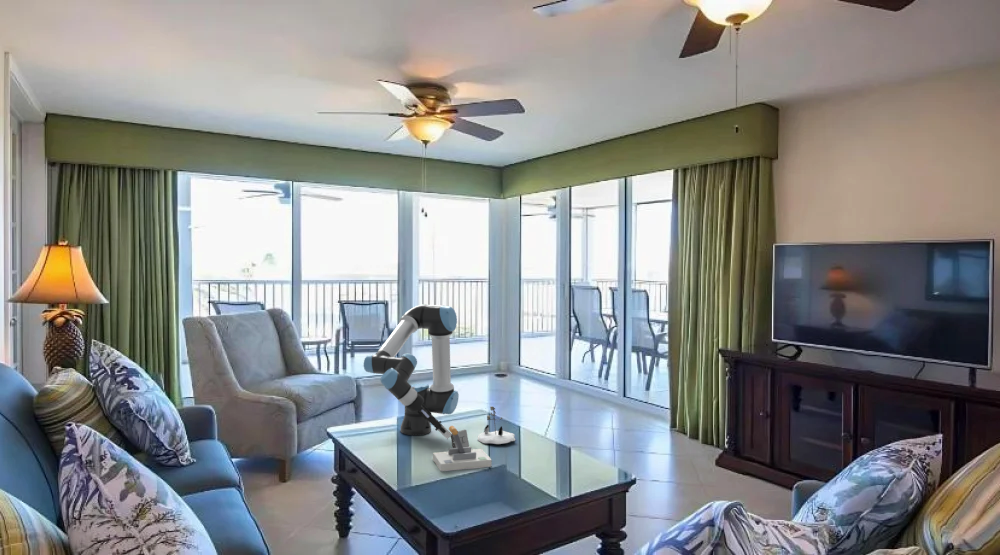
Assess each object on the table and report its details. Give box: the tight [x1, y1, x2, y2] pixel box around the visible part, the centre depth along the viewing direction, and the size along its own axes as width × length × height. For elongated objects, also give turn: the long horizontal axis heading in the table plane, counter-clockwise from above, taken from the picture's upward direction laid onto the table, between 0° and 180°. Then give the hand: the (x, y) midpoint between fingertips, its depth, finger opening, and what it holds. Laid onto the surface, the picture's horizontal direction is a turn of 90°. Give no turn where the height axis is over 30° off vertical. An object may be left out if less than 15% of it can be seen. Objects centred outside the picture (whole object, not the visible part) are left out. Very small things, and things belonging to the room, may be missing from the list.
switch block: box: [432, 446, 493, 472], centre depth 249 cm, size 14×22×5 cm, turn 110°
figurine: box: [477, 406, 516, 445], centre depth 282 cm, size 20×18×16 cm
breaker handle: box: [448, 425, 465, 453], centre depth 248 cm, size 6×2×13 cm, turn 20°
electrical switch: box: [450, 429, 470, 448], centre depth 267 cm, size 8×5×8 cm, turn 141°
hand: (449, 436), depth 246 cm, fingers closed
